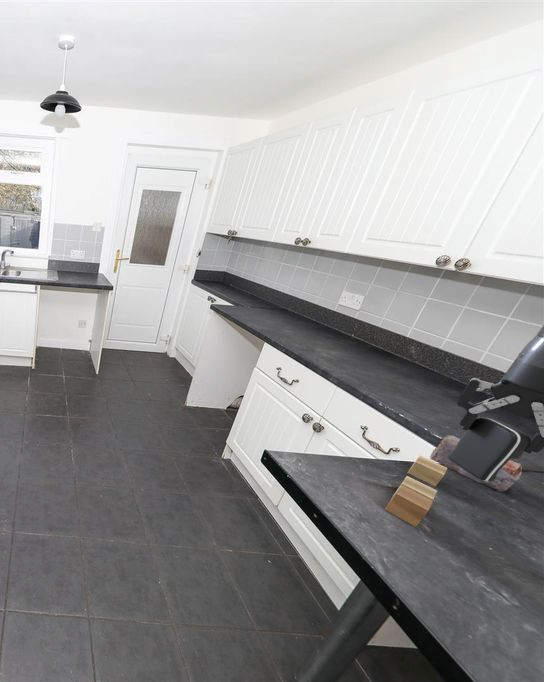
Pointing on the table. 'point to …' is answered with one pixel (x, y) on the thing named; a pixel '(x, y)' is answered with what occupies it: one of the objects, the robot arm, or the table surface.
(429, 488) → the block
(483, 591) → the table surface
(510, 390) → the robot arm
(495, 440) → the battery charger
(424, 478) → the block
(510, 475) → the food item
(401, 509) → the block
